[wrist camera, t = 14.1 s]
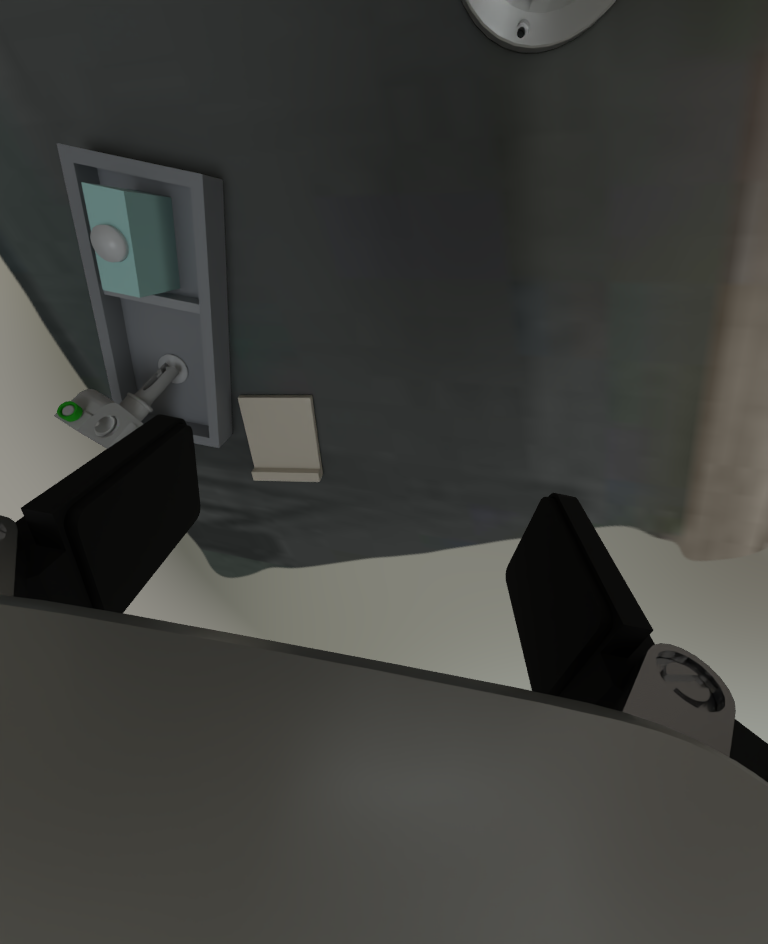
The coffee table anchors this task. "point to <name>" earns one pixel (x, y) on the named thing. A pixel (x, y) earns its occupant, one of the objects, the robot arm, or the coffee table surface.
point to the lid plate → (282, 437)
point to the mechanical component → (114, 409)
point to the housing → (156, 282)
